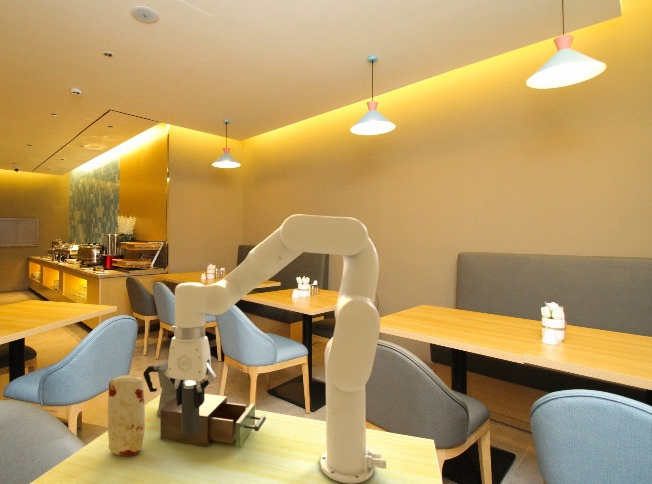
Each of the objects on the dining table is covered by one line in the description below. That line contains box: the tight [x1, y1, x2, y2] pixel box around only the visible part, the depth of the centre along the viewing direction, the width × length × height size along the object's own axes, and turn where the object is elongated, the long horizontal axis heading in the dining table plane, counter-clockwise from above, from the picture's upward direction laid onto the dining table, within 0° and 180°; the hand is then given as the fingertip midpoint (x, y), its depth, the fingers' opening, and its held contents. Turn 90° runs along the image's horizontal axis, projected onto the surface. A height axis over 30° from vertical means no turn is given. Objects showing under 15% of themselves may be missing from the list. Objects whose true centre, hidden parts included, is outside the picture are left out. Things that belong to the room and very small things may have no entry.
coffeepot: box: [143, 361, 186, 416], centre depth 115 cm, size 15×9×18 cm, turn 114°
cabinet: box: [159, 393, 228, 448], centre depth 103 cm, size 15×13×8 cm
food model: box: [107, 374, 146, 457], centre depth 93 cm, size 10×7×20 cm
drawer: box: [209, 401, 267, 448], centre depth 100 cm, size 18×11×6 cm, turn 74°
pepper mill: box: [181, 380, 199, 435], centre depth 89 cm, size 4×4×12 cm
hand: (190, 403), depth 89 cm, fingers closed on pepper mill, 4 cm apart
